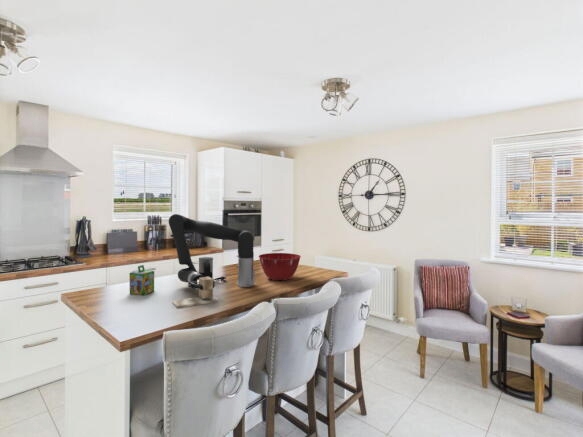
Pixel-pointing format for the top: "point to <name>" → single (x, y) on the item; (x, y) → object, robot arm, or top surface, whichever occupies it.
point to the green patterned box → (141, 281)
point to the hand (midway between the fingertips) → (207, 287)
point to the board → (192, 302)
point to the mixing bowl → (279, 265)
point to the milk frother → (207, 268)
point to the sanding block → (206, 288)
